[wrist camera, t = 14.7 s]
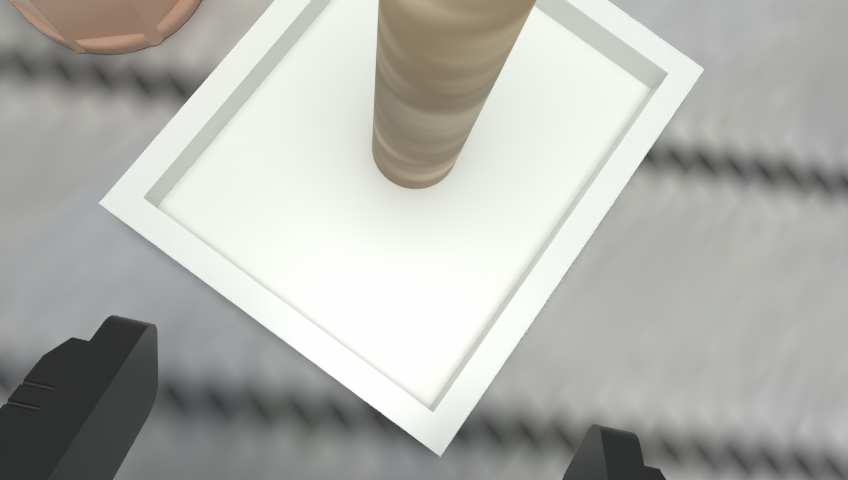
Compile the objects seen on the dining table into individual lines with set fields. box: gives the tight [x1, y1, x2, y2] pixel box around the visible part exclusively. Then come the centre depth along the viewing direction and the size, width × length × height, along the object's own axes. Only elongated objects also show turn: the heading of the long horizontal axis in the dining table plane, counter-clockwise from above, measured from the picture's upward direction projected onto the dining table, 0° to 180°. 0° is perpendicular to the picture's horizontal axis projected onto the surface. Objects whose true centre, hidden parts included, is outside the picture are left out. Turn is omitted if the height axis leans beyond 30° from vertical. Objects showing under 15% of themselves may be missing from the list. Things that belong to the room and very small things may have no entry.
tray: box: [99, 0, 704, 456], centre depth 25 cm, size 14×17×2 cm
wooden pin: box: [372, 0, 536, 189], centre depth 17 cm, size 3×3×16 cm
